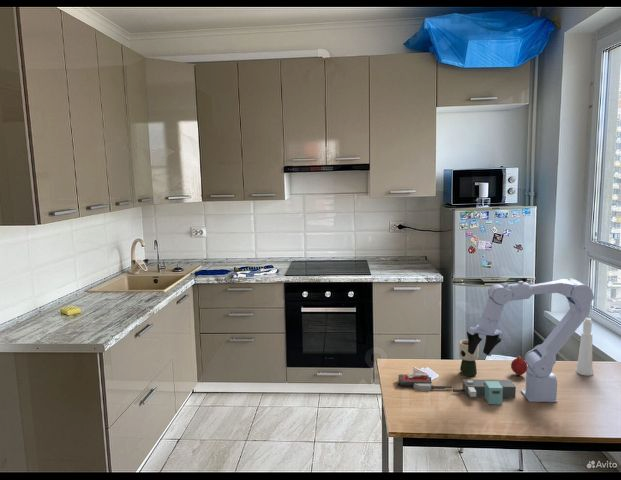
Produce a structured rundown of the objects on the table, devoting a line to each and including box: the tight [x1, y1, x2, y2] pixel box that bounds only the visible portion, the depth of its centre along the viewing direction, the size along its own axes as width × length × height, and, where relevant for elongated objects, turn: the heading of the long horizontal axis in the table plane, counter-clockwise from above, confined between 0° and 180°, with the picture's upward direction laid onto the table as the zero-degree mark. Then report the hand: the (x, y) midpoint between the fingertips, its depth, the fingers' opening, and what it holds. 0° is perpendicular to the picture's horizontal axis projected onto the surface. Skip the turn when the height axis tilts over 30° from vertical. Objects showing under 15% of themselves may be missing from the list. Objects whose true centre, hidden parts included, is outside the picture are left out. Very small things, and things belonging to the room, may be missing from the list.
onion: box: [510, 355, 528, 377], centre depth 180 cm, size 6×6×8 cm
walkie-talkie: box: [396, 372, 453, 392], centre depth 174 cm, size 9×4×20 cm
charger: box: [484, 381, 504, 405], centre depth 162 cm, size 4×7×6 cm, turn 176°
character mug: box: [458, 339, 480, 377], centre depth 182 cm, size 11×7×13 cm, turn 0°
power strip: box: [452, 378, 517, 398], centre depth 167 cm, size 21×6×5 cm, turn 86°
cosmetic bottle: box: [575, 317, 594, 377], centre depth 180 cm, size 6×6×22 cm
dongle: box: [468, 387, 477, 398], centre depth 163 cm, size 2×4×2 cm, turn 176°
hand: (478, 353), depth 164 cm, fingers open, 7 cm apart
